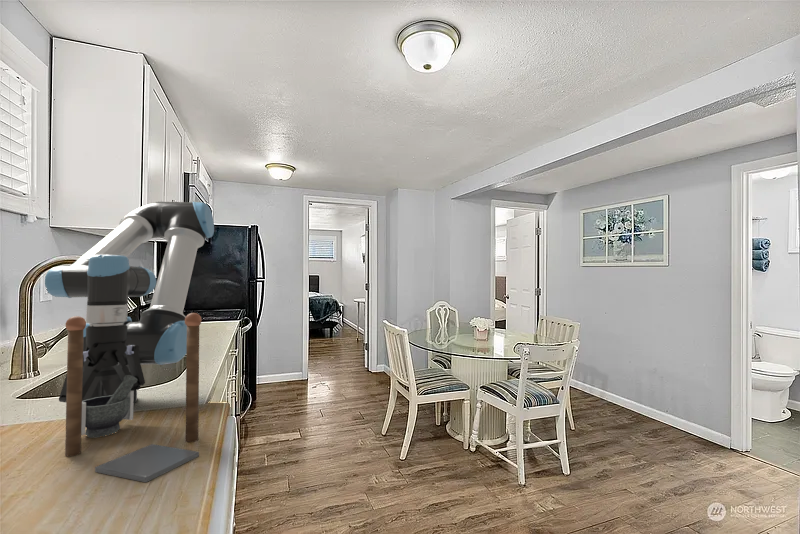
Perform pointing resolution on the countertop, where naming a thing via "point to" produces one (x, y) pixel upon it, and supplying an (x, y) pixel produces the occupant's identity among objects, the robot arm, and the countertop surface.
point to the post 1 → (74, 385)
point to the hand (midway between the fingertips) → (104, 426)
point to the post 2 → (192, 376)
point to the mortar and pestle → (108, 410)
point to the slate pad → (147, 462)
